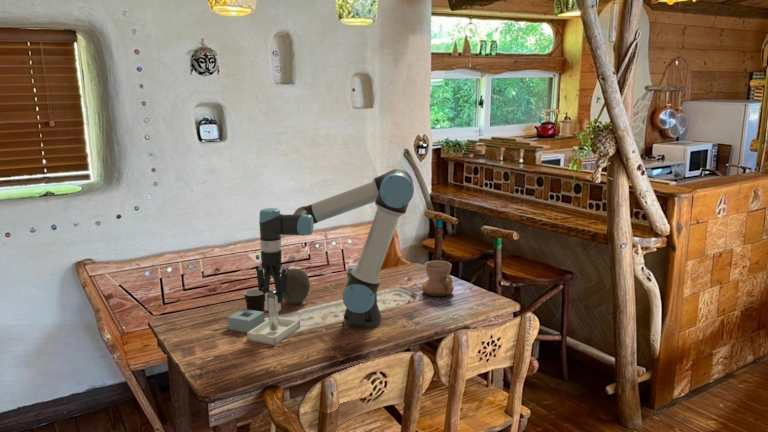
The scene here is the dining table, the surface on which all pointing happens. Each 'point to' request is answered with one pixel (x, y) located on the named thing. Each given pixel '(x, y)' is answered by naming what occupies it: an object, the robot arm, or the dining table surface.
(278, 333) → the tray
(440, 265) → the ceramic jug
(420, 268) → the dining table surface
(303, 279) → the cantaloupe
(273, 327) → the pin
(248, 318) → the block
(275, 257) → the robot arm
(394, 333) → the dining table surface
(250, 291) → the coffee mug
